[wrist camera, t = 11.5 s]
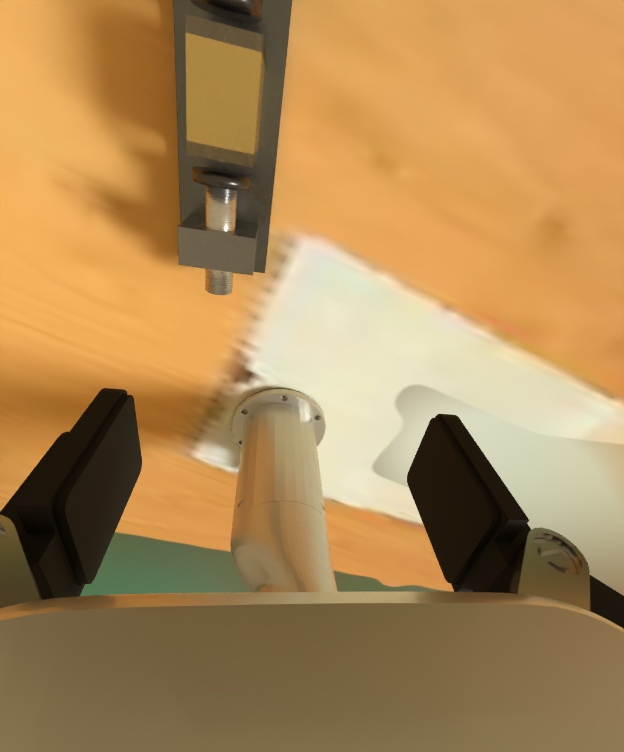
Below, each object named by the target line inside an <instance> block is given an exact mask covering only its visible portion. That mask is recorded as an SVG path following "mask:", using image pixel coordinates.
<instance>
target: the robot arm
mask: <svg viewBox="0 0 624 752" xmlns="http://www.w3.org/2000/svg"><path fill="white" fill-rule="evenodd" d="M325 427H326V426H325V418H324V415H323V412H322V410H321V408H320V407H319V405H318V404H317V403H316V402H315V401H314V400H312V399H311V398H310V397H308V396H306V395H304V394H302V393H300V392H297V391H293V390H287V389H271V390H266V391H262V392H259V393H256V394H254V395H252V396H251V397H249V398H247V399H246V400H245V401H244V402H242V403H241V404H240V406H239V407H238V408H237V410H236V412H235V414H234V416H233V421H232V434H233V437H234V440H235V442H236V443H237V444H238V446H239V447H240V448H241V453H240V462H239V471H238V479H237V488H236V497H235V505H234V514H233V522H232V532H231V553H232V558H233V562H234V564H235V567H236V568H237V571H238V573H239V575H240V576H241V578H242V579H243V581H244V582H245V584H246V585H247V586H248V588H249V589H250V591H251V592H252V593H169V594H129V595H94V596H93V595H92V596H80V594H81V592H82V590H83V587H84V585H85V584H90V583H92V581H93V580H94V578H95V576H96V574H97V572H98V569H99V567H100V565H101V562H102V560H103V557H104V555H105V553H106V551H107V548H108V546H109V544H110V541H111V539H112V537H113V534H114V532H115V530H116V528H117V525H118V523H119V521H120V518H121V516H122V514H123V511H124V509H125V507H126V504H127V502H128V500H129V497H130V495H131V493H132V490H133V488H134V486H135V483H136V481H137V479H138V477H139V474H140V472H141V467H142V457H141V450H140V442H139V435H138V427H137V420H136V412H135V405H134V398H133V396H132V395H127V392H126V390H121V389H108V388H104V389H102V390H101V391H100V392H99V393H98V395H97V396H96V397H95V399H94V400H93V401H92V403H91V404H90V405H89V407H88V408H87V409H86V411H85V412H84V413H83V415H82V416H81V417H80V419H79V420H78V421H77V423H76V424H75V425H74V427H73V428H72V429H71V431H70V432H65V433H62V434H61V435H60V436H59V437H58V438H57V440H56V441H55V442H54V444H53V445H52V446H51V448H50V449H49V450H48V451H47V453H46V454H45V455H44V457H43V458H42V459H41V460H40V462H39V463H38V464H37V466H36V467H35V468H34V469H33V471H32V472H31V473H30V475H29V476H28V477H27V478H26V480H25V481H24V482H23V484H22V485H21V486H20V488H19V489H18V490H17V491H16V493H15V494H14V495H13V497H12V498H11V499H10V500H9V502H8V503H7V504H6V506H5V507H4V508H3V509H2V511H1V512H0V752H624V596H623V595H621V594H619V593H618V592H616V591H615V590H613V589H612V588H610V587H608V586H607V585H605V584H604V583H602V582H600V581H599V580H597V579H595V578H594V577H592V576H591V575H590V571H589V566H588V563H587V561H586V559H585V557H584V556H583V554H582V553H581V552H580V551H579V549H578V548H577V547H576V546H575V545H574V544H573V543H571V542H570V541H569V540H568V539H566V538H565V537H563V536H562V535H560V534H558V533H556V532H554V531H552V530H549V529H545V528H534V529H532V530H531V529H530V527H529V526H528V524H527V522H528V521H529V520H528V518H527V516H526V515H525V513H524V512H523V510H522V509H521V507H520V506H519V505H518V503H517V502H516V500H515V499H514V497H513V496H512V494H511V493H510V492H509V490H508V489H507V487H506V486H505V484H504V483H503V481H502V480H501V478H500V477H499V476H498V474H497V473H496V471H495V470H494V468H493V467H492V465H491V464H490V463H489V461H488V460H487V458H486V457H485V455H484V454H483V452H482V451H481V449H480V448H479V446H478V445H477V444H476V442H475V441H474V439H473V438H472V436H471V435H470V434H469V432H468V430H467V429H466V428H465V426H464V425H463V423H462V422H461V420H460V419H459V417H458V416H456V415H447V414H438V415H437V416H436V417H435V418H432V419H431V420H430V422H429V425H428V427H427V429H426V432H425V435H424V437H423V439H422V441H421V444H420V446H419V448H418V451H417V453H416V455H415V458H414V460H413V463H412V465H411V467H410V470H409V472H408V475H407V482H408V486H409V489H410V491H411V494H412V496H413V499H414V501H415V504H416V506H417V509H418V511H419V514H420V516H421V519H422V521H423V524H424V527H425V529H426V532H427V534H428V537H429V539H430V542H431V544H432V547H433V549H434V552H435V554H436V557H437V559H438V562H439V565H440V567H441V570H442V572H443V575H444V577H445V579H446V581H447V582H448V583H451V584H452V587H453V589H454V592H338V591H337V587H336V583H335V578H334V573H333V567H332V562H331V555H330V548H329V541H328V534H327V526H326V517H325V509H324V501H323V493H322V485H321V477H320V469H319V461H318V453H317V446H318V445H319V443H320V442H321V440H322V439H323V436H324V434H325Z"/></svg>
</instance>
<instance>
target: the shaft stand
mask: <svg viewBox="0 0 624 752" xmlns="http://www.w3.org/2000/svg"><path fill="white" fill-rule="evenodd" d="M173 3H174V34H175V66H176V97H177V128H178V160H179V191H180V222H181V224H179V225H178V226H177V228H178V255H179V265H184V266H191V267H198V268H205V290H206V291H207V292H209V293H211V294H215V295H228V294H230V293H232V286H233V273H240V274H247V275H253V271H254V272H261V273H265V265H266V255H267V245H268V235H269V225H270V215H271V205H272V195H273V185H274V175H275V165H276V155H277V145H278V135H279V125H280V115H281V105H282V95H283V85H284V75H285V66H286V56H287V46H288V36H289V26H290V16H291V6H292V0H173ZM185 14H188V15H192V16H196V17H199V18H203V19H207V20H210V21H214V22H218V23H222V24H225V25H229V26H233V27H236V28H240V29H244V30H248V31H251V32H255V33H259V34H263V37H264V43H265V50H266V59H265V71H264V83H263V95H262V107H261V118H260V130H259V142H258V154H257V162H256V164H255V165H254V167H253V168H252V167H247V166H242V165H237V164H232V163H227V162H222V161H218V160H213V159H208V158H203V157H198V156H193V155H188V154H187V123H186V34H185Z"/></svg>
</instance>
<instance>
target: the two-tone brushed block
mask: <svg viewBox="0 0 624 752" xmlns="http://www.w3.org/2000/svg"><path fill="white" fill-rule="evenodd" d="M185 34H186V123H187V154H188V155H193V156H198V157H203V158H208V159H213V160H218V161H222V162H227V163H232V164H237V165H242V166H247V167H252V168H253V167H254V165H255V164H256V162H257V154H258V142H259V130H260V118H261V107H262V95H263V83H264V71H265V59H266V50H265V43H264V37H263V34H259V33H255V32H251V31H248V30H244V29H240V28H236V27H233V26H229V25H225V24H222V23H218V22H214V21H210V20H207V19H203V18H199V17H196V16H192V15H188V14H185Z"/></svg>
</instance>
